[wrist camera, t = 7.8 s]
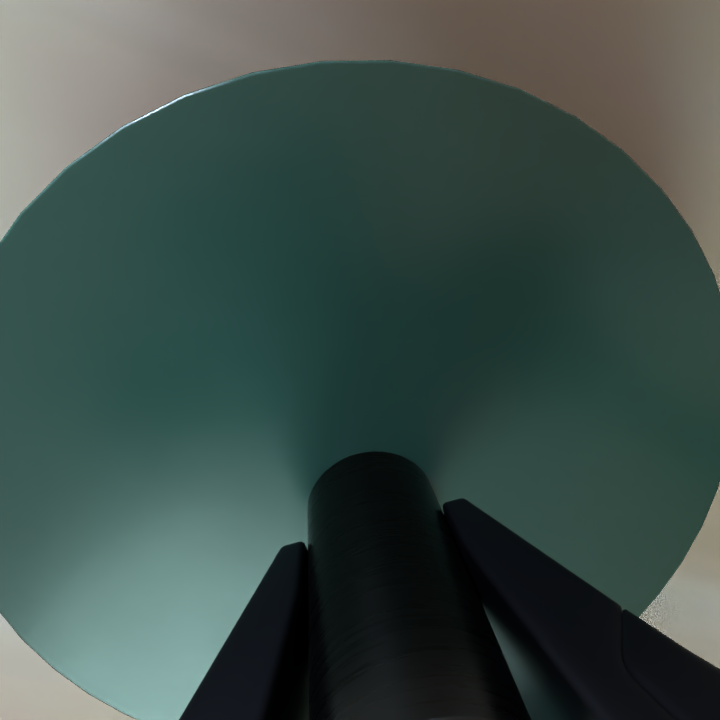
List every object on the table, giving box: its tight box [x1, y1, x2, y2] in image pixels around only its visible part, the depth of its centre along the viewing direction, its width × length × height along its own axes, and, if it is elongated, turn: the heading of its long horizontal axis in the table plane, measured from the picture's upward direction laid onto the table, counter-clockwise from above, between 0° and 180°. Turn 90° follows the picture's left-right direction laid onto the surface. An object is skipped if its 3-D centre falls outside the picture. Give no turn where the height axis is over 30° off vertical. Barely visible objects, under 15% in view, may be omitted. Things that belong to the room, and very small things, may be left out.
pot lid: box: [0, 60, 720, 720], centre depth 8 cm, size 16×16×6 cm
